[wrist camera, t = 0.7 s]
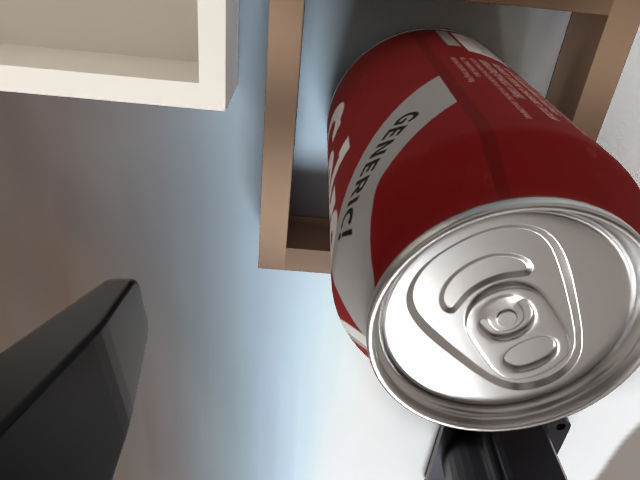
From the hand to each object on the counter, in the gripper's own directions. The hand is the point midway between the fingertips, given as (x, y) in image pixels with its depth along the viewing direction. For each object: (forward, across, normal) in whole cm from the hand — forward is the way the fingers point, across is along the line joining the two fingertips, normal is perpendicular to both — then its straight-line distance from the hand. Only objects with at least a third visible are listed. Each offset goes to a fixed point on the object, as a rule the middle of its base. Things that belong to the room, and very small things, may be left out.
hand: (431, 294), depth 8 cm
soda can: (+13, -2, +2) cm, 14 cm away
